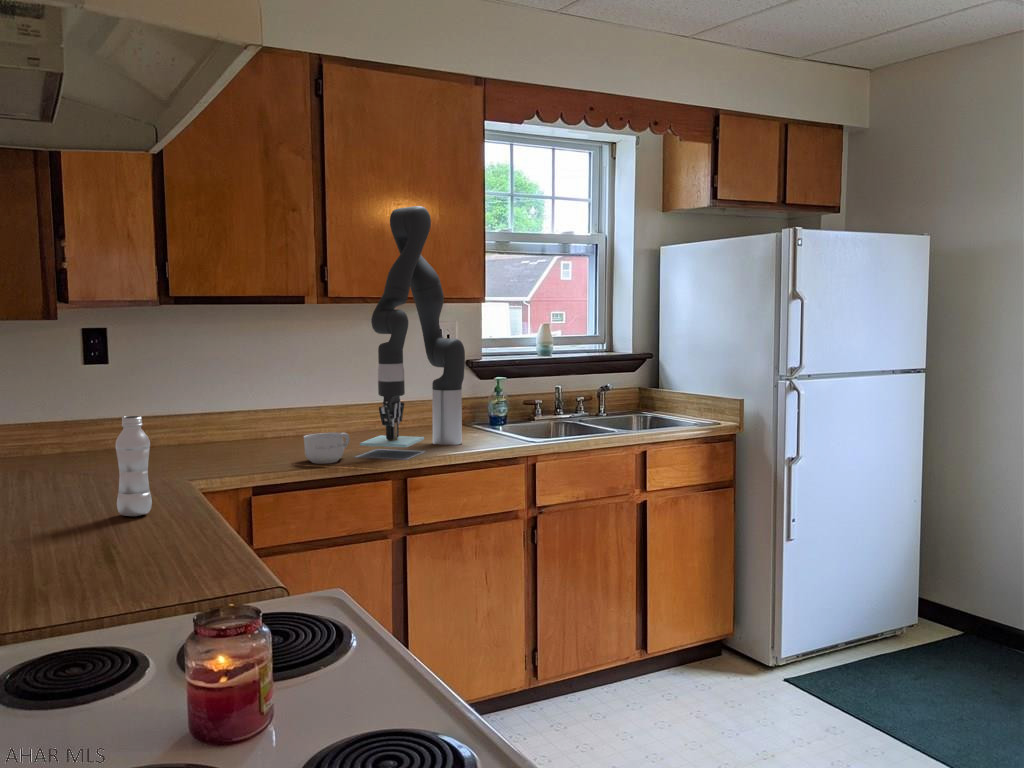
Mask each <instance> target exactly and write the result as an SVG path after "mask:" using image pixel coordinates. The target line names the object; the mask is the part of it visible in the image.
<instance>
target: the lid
mask: <svg viewBox="0 0 1024 768" xmlns="http://www.w3.org/2000/svg"><path fill="white" fill-rule="evenodd" d="M424 440H425V437H424V436H409V435H408V436H407V435H399V437H398V438H397V422H394V439H393V440H387V439H386V435H384V434H383V435H377V436H375V437H373V438H369V439H366V440H365V441H362V442H359V447H383V448H384V447H385V448H408V447H411V446H413V445H414V444H417V443H420V442H422V441H424Z"/></svg>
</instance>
